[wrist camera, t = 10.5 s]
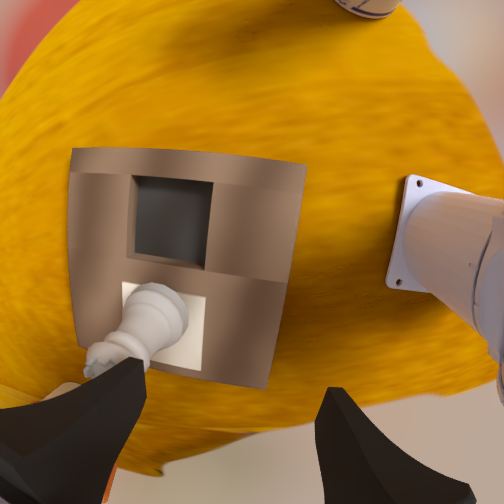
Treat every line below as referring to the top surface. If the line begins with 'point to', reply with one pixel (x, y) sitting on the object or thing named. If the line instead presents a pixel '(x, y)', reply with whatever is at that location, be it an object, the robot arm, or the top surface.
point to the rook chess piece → (140, 329)
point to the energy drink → (370, 7)
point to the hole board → (186, 251)
